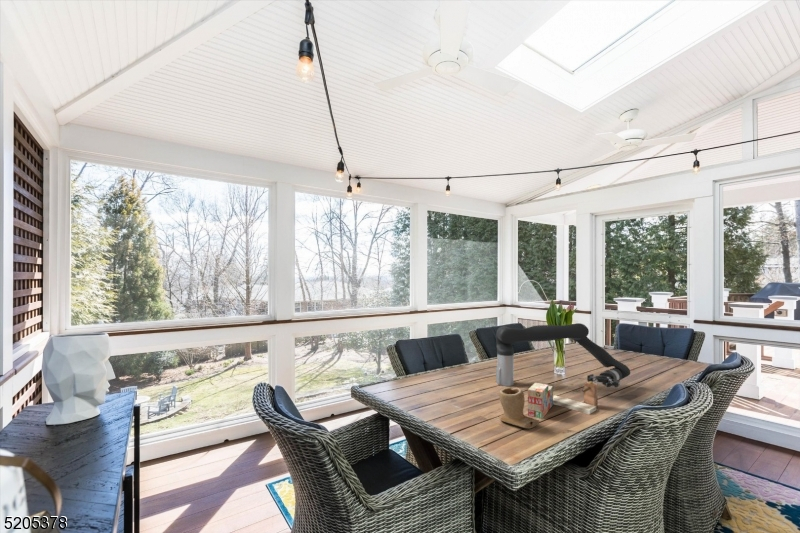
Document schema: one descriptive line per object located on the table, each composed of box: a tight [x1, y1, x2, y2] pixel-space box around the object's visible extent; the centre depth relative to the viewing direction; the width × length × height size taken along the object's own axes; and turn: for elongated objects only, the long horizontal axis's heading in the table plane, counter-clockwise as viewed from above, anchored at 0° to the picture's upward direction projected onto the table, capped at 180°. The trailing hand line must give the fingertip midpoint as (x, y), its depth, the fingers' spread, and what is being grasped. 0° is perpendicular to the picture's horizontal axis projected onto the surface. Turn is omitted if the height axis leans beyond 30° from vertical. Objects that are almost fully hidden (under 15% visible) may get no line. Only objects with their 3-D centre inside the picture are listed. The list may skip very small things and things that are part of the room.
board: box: [553, 394, 597, 415], centre depth 176 cm, size 20×8×2 cm, turn 42°
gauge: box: [582, 381, 599, 408], centre depth 174 cm, size 11×4×12 cm, turn 132°
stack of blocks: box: [527, 382, 554, 420], centre depth 171 cm, size 21×6×12 cm, turn 145°
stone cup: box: [498, 386, 540, 430], centre depth 154 cm, size 15×12×15 cm
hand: (598, 383), depth 184 cm, fingers open, 8 cm apart
